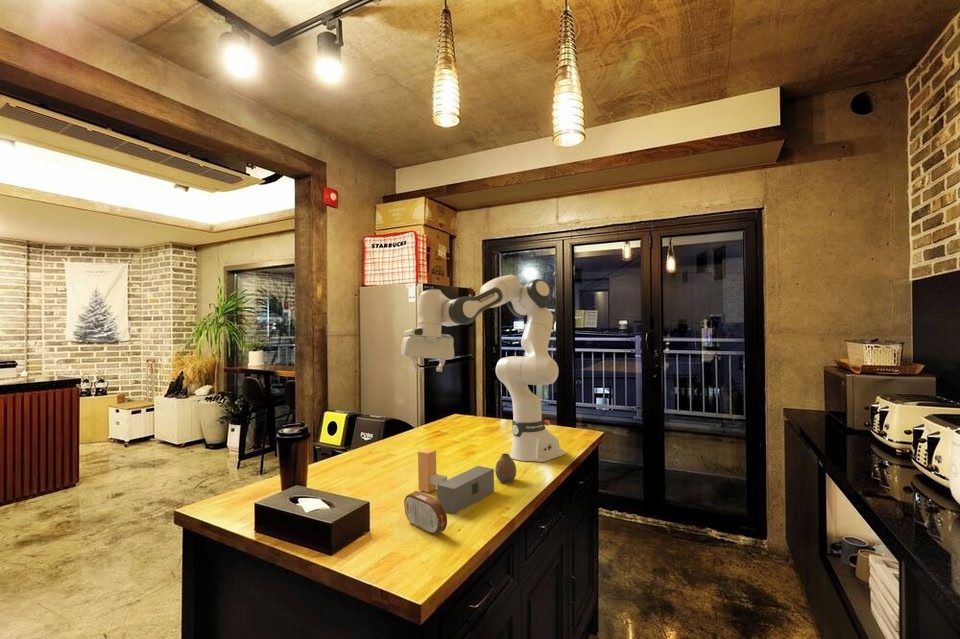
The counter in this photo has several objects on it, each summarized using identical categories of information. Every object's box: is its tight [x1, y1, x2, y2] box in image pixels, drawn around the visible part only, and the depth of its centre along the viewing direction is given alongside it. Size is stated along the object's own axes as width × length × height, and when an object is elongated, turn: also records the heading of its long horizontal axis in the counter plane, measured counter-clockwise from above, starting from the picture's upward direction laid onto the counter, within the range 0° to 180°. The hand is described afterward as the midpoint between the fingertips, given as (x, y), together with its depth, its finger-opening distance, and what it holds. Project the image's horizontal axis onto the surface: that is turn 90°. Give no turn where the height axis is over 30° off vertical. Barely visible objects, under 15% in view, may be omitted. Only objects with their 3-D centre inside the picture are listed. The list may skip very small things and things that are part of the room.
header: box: [436, 465, 495, 515], centre depth 132 cm, size 6×20×7 cm, turn 145°
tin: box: [403, 490, 448, 536], centre depth 114 cm, size 15×3×8 cm, turn 45°
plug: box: [417, 448, 448, 493], centre depth 140 cm, size 9×4×12 cm, turn 55°
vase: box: [494, 452, 517, 484], centre depth 148 cm, size 7×7×9 cm
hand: (427, 371), depth 161 cm, fingers open, 8 cm apart
